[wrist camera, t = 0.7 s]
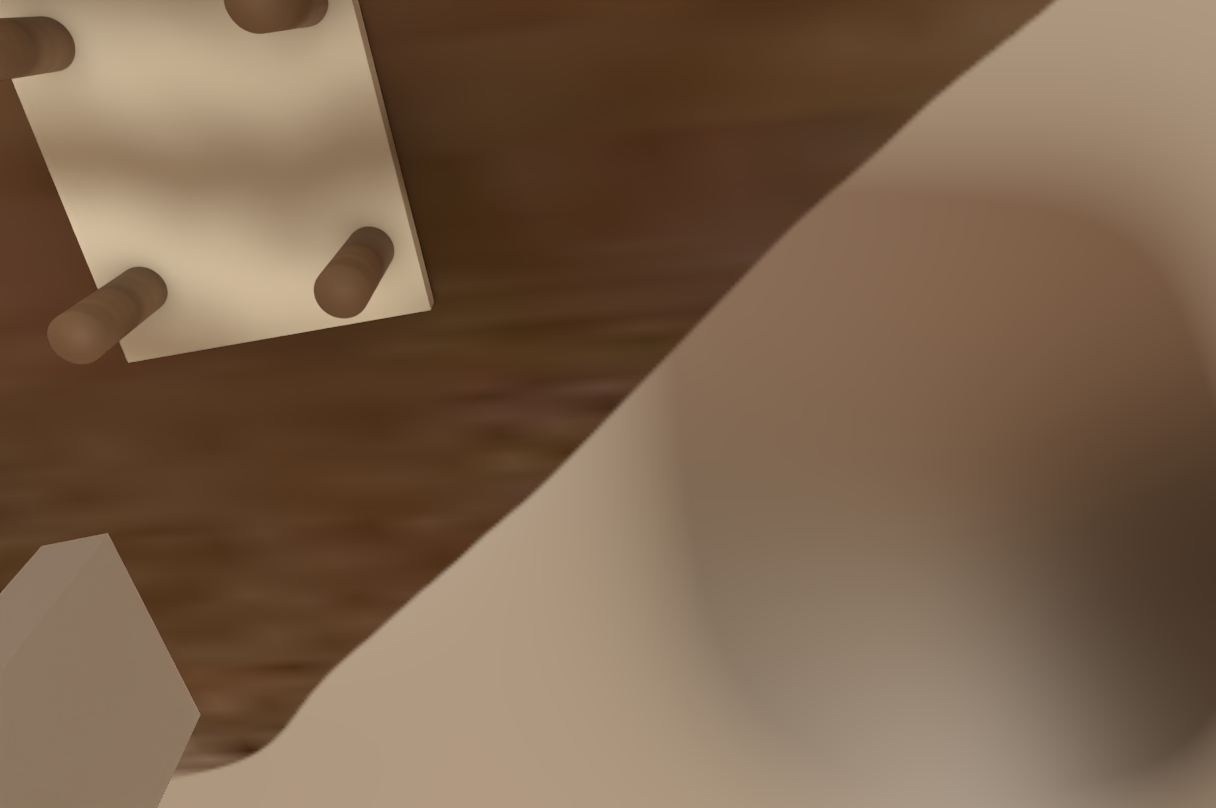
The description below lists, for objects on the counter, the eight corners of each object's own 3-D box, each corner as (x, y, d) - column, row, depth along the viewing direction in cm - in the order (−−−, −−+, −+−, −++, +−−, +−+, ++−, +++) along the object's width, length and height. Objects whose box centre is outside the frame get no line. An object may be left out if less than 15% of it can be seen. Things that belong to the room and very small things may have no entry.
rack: (-17, -35, 28) (-152, -42, 23) (333, -98, 28) (282, -119, 23) (139, 352, 34) (60, 422, 28) (433, 301, 34) (412, 361, 28)
